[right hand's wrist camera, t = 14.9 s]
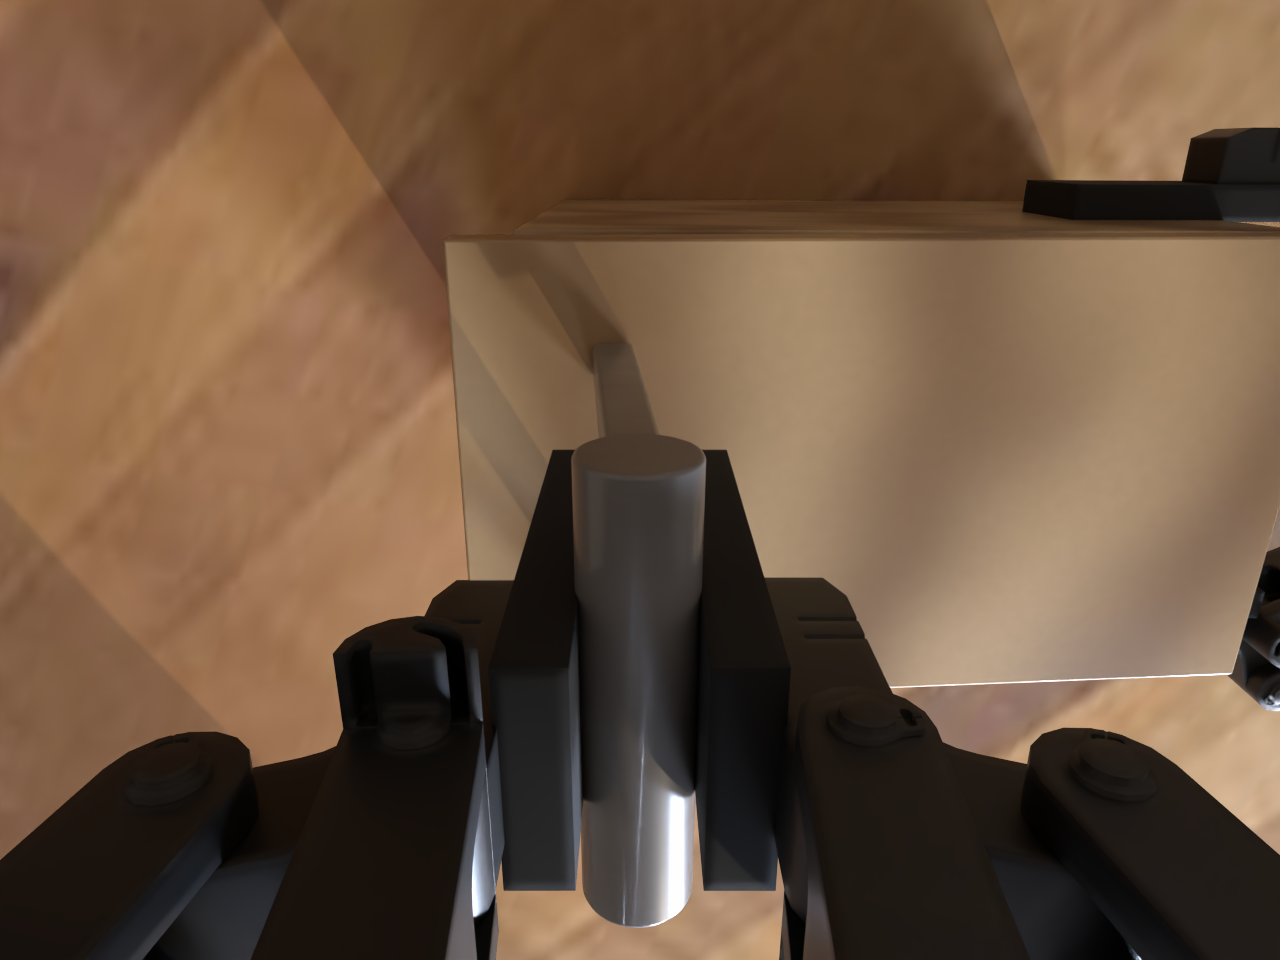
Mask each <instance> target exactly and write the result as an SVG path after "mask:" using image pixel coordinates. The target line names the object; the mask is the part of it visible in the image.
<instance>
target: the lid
mask: <svg viewBox="0 0 1280 960" xmlns="http://www.w3.org/2000/svg"><path fill="white" fill-rule="evenodd" d="M443 246H444V259H445V272H446V286H447V299H448V313H449V326H450V340H451V353H452V367H453V380H454V394H455V407H456V421H457V434H458V448H459V461H460V475H461V488H462V502H463V515H464V528H465V542H466V555H467V569H468V580H514V579H515V575H516V572H517V569H518V565H519V562H520V558H521V555H522V552H523V548H524V545H525V541H526V538H527V535H528V531H529V528H530V525H531V521H532V518H533V514H534V511H535V508H536V504H537V501H538V497H539V494H540V491H541V487H542V484H543V481H544V477H545V474H546V470H547V467H548V464H549V460H550V457H551V453H552V450H575V451H574V453H573V455H572V458H571V467H572V506H573V544H574V582H575V593H576V595H577V597H578V620H579V656H580V692H581V728H582V764H583V809H582V821H581V851H582V885H583V891H584V895H585V897H586V899H587V901H588V903H589V904H590V906H591V907H592V908H593V910H594V911H595V912H596V913H597V914H599V915H600V916H601V917H603V918H604V919H606V920H608V921H610V922H612V923H614V924H617V925H620V926H625V927H632V928H643V927H650V926H655V925H658V924H661V923H663V922H665V921H667V920H669V919H671V918H672V917H674V916H675V915H676V914H678V913H679V912H680V911H681V909H682V908H683V907H684V906H685V904H686V903H687V901H688V899H689V897H690V895H691V891H692V884H693V855H694V823H695V777H696V743H697V708H698V674H699V639H700V604H701V592H702V573H703V542H704V511H705V480H706V457H705V454H704V452H703V451H702V450H727V452H728V456H729V459H730V463H731V466H732V469H733V473H734V476H735V480H736V483H737V486H738V490H739V493H740V496H741V500H742V503H743V507H744V510H745V513H746V517H747V520H748V524H749V527H750V530H751V534H752V537H753V541H754V544H755V547H756V551H757V554H758V558H759V561H760V564H761V568H762V571H763V575H764V578H824V579H825V580H827V581H828V582H829V583H831V584H832V585H833V586H835V587H836V588H837V589H839V590H840V591H841V592H842V593H844V594H845V595H846V596H847V597H848V600H849V602H850V604H851V606H852V608H853V610H854V612H855V614H856V617H857V621H859V623H860V625H861V627H862V629H863V631H864V634H865V639H867V640H868V642H869V644H870V646H871V649H872V651H873V653H874V655H875V657H876V659H877V661H878V663H879V666H880V668H881V670H882V672H883V674H884V676H885V678H886V680H887V683H888V685H889V687H890V688H896V687H922V686H947V685H972V684H997V683H1022V682H1048V681H1073V680H1098V679H1123V678H1148V677H1173V676H1199V675H1224V674H1232V672H1233V669H1234V665H1235V662H1236V658H1237V655H1238V651H1239V648H1240V644H1241V640H1242V637H1243V633H1244V630H1245V626H1246V623H1247V619H1248V616H1249V612H1250V609H1251V605H1252V602H1253V598H1254V595H1255V591H1256V588H1257V584H1258V581H1259V577H1260V574H1261V570H1262V567H1263V563H1264V560H1265V556H1266V553H1267V549H1268V546H1269V542H1270V539H1271V535H1272V532H1273V528H1274V525H1275V521H1276V517H1277V514H1278V510H1279V507H1280V232H1258V233H935V234H611V235H451V236H449V237H448V238H447V239H445V240H444V242H443Z"/></svg>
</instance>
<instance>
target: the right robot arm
mask: <svg viewBox="0 0 1280 960" xmlns="http://www.w3.org/2000/svg"><path fill="white" fill-rule="evenodd" d="M574 451H575V450H552V453H551V457H550V460H549V464H548V467H547V470H546V474H545V477H544V481H543V484H542V487H541V491H540V494H539V497H538V501H537V504H536V508H535V511H534V514H533V518H532V521H531V525H530V528H529V531H528V535H527V538H526V541H525V545H524V548H523V552H522V555H521V558H520V562H519V565H518V569H517V572H516V575H515V579H514V580H456V581H455V582H454V583H453V584H451V585H450V586H449V587H447V588H446V589H445V590H443V591H442V592H441V593H439V594H438V595H437V596H436V597H434V598H433V599H432V601H431V604H430V606H429V608H428V610H427V612H426V614H425V616H414V617H406V618H398V619H391V620H388V621H384V622H381V623H378V624H375V625H372V626H369V627H366V628H364V629H362V630H361V631H359V632H357V633H355V634H354V635H352V636H350V637H349V638H347V639H345V640H344V641H343V643H342V644H341V645H340V646H339V647H338V648H337V650H336V651H335V652H334V653H333V659H334V666H335V673H336V680H337V687H338V694H339V701H340V708H341V715H342V722H343V731H342V734H341V736H340V739H339V741H338V744H337V746H335V747H333V748H331V749H328V750H326V751H324V752H320V753H317V754H313V755H309V756H306V757H302V758H298V759H293V760H288V761H283V762H279V763H274V764H269V765H264V766H259V767H255V768H253V767H252V762H251V757H250V751H249V749H248V748H247V747H246V746H245V745H244V744H243V743H242V742H241V741H240V740H239V739H238V738H236V737H233V736H229V735H226V734H222V733H219V732H187V733H182V734H176V735H174V736H172V735H171V736H167V737H164V738H160V739H157V740H155V741H153V742H150V743H148V744H146V745H143V746H141V747H139V748H136V749H134V750H132V751H129V752H128V753H126V754H125V755H123V756H122V757H120V758H119V759H117V760H116V761H115V762H113V763H112V764H110V765H109V766H107V767H106V768H104V769H103V770H102V771H101V772H100V773H99V774H97V775H96V776H95V777H94V778H93V779H92V780H91V781H89V782H88V783H87V784H86V785H85V786H84V787H83V788H82V789H80V790H79V791H78V792H77V793H76V794H75V795H74V796H72V797H71V798H70V799H69V800H68V801H67V802H66V803H64V804H63V805H62V806H61V807H60V808H59V809H58V810H57V811H55V812H54V813H53V814H52V815H51V816H50V817H49V818H47V819H46V820H45V821H44V822H43V823H42V824H41V825H40V826H38V827H37V828H36V829H35V830H34V831H33V832H32V833H30V834H29V835H28V836H27V837H26V838H25V839H24V840H23V841H21V842H20V843H19V844H18V845H17V846H16V847H15V848H13V849H12V850H11V851H10V852H9V853H8V854H7V855H5V856H4V857H3V858H2V859H1V860H0V960H496V951H497V941H498V931H499V930H498V916H497V903H496V890H495V889H496V884H497V879H498V874H499V869H500V864H501V859H502V872H503V887H504V891H575V890H576V879H577V867H578V856H579V844H580V833H581V821H582V809H583V764H582V728H581V692H580V656H579V620H578V597H577V595H576V593H575V582H574V544H573V506H572V467H571V458H572V455H573V453H574ZM702 451H703V452H704V454H705V457H706V480H705V511H704V542H703V573H702V592H701V604H700V639H699V674H698V708H697V743H696V777H695V795H696V806H697V818H698V829H699V841H700V852H701V864H702V876H703V887H704V891H775V890H776V876H777V862H778V858H779V864H780V869H781V874H782V879H783V884H784V889H785V890H784V903H783V916H782V930H781V943H780V957H779V960H1280V855H1279V854H1278V853H1277V852H1276V851H1274V850H1273V849H1272V848H1271V847H1270V846H1269V845H1268V844H1266V843H1265V842H1264V841H1263V840H1262V839H1261V838H1260V837H1258V836H1257V835H1256V834H1255V833H1254V832H1253V831H1252V830H1250V829H1249V828H1248V827H1247V826H1246V825H1245V824H1244V823H1242V822H1241V821H1240V820H1239V819H1238V818H1237V817H1236V816H1234V815H1233V814H1232V813H1231V812H1230V811H1229V810H1228V809H1226V808H1225V807H1224V806H1223V805H1222V804H1221V803H1220V802H1218V801H1217V800H1216V799H1215V798H1214V797H1213V796H1212V795H1210V794H1209V793H1208V792H1207V791H1206V790H1205V789H1203V788H1202V787H1201V786H1200V785H1199V784H1198V783H1197V782H1195V781H1194V780H1193V779H1192V778H1191V777H1190V776H1189V775H1187V774H1186V773H1185V772H1184V771H1183V770H1182V769H1181V768H1179V767H1178V766H1177V765H1176V764H1174V763H1173V762H1172V761H1170V760H1169V759H1167V758H1166V757H1164V756H1163V755H1161V754H1160V753H1158V752H1157V751H1155V750H1154V749H1152V748H1151V747H1148V746H1146V745H1144V744H1141V743H1139V742H1137V741H1134V740H1132V739H1130V738H1127V737H1125V736H1123V735H1120V734H1116V733H1113V732H1109V731H1108V732H1106V731H1104V730H1097V729H1092V728H1061V729H1058V730H1054V731H1051V732H1047V733H1044V734H1042V735H1041V736H1040V737H1039V738H1038V739H1037V740H1036V741H1035V742H1034V743H1033V744H1032V745H1031V747H1030V752H1029V757H1028V763H1027V764H1024V763H1019V762H1014V761H1009V760H1004V759H999V758H995V757H990V756H985V755H980V754H976V753H972V752H969V751H965V750H962V749H958V748H955V747H953V746H950V745H948V744H946V743H943V742H942V740H941V737H940V735H939V732H938V730H937V728H936V726H935V725H934V724H933V722H932V721H931V719H930V718H929V717H928V715H927V714H926V713H925V712H924V711H923V710H921V709H920V708H919V707H917V706H916V705H914V704H913V703H911V702H910V701H908V700H907V699H905V698H902V697H900V696H897V695H894V694H893V693H892V691H891V689H890V687H889V685H888V683H887V680H886V678H885V676H884V674H883V672H882V670H881V668H880V666H879V663H878V661H877V659H876V657H875V655H874V653H873V651H872V649H871V646H870V644H869V642H868V640H867V639H865V634H864V631H863V629H862V627H861V625H860V623H859V621H857V617H856V614H855V612H854V610H853V608H852V606H851V604H850V602H849V600H848V597H847V596H846V595H845V594H844V593H842V592H841V591H840V590H839V589H837V588H836V587H835V586H833V585H832V584H831V583H829V582H828V581H827V580H825V579H824V578H764V575H763V571H762V568H761V564H760V561H759V558H758V554H757V551H756V547H755V544H754V541H753V537H752V534H751V530H750V527H749V524H748V520H747V517H746V513H745V510H744V507H743V503H742V500H741V496H740V493H739V490H738V486H737V483H736V480H735V476H734V473H733V469H732V466H731V463H730V459H729V456H728V452H727V450H702Z"/></svg>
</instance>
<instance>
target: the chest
mask: <svg viewBox="0 0 1280 960" xmlns="http://www.w3.org/2000/svg"><path fill="white" fill-rule="evenodd" d="M1023 203H1024V201H835V200H585V199H566V200H564V201H562V202H560V203H559V204H557V205H555V206H553V207H552V208H550V209H548V210H547V211H545V212H543V213H542V214H540V215H538V216H536V217H535V218H533V219H531V220H530V221H528V222H526V223H525V224H523V225H521V226H520V227H518V228H516V229H515V230H514V235H611V234H935V233H1258V232H1280V227H1271V226H1263V225H1255V224H1247V223H1239V222H1231V221H1222V220H1070V219H1064V218H1058V217H1052V216H1045V215H1039V214H1033V213H1027V212H1022V210H1023Z"/></svg>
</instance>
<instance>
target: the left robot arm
mask: <svg viewBox="0 0 1280 960" xmlns="http://www.w3.org/2000/svg"><path fill="white" fill-rule="evenodd" d="M1022 212H1027V213H1033V214H1039V215H1045V216H1052V217H1058V218H1064V219H1070V220H1222V221H1231V222H1280V128H1235V129H1214V130H1211V131H1209V132H1206V133H1204V134H1201V135H1199V136H1196V137H1193V138H1191V141H1190V146H1189V150H1188V155H1187V160H1186V165H1185V169H1184V174H1183V179H1182V181H1076V180H1027V183H1026V190H1025V197H1024V203H1023V210H1022ZM1227 675H1228V676H1229V677H1230V678H1231V679H1232V680H1233V681H1234V682H1235V683H1236V684H1238V685H1239V686H1240V687H1241V688H1242V689H1243V690H1244V691H1245V692H1246V693H1247V694H1249V695H1250V696H1251V697H1252V698H1253V699H1254V700H1256V701H1257V702H1258V703H1259V704H1260V705H1261V706H1262V707H1263V708H1265V709H1268V710H1270V711H1280V547H1278V548H1276V549H1273V550H1271V551H1268V552H1267V553H1266V556H1265V560H1264V563H1263V567H1262V570H1261V574H1260V577H1259V581H1258V584H1257V588H1256V591H1255V595H1254V598H1253V602H1252V605H1251V609H1250V612H1249V616H1248V619H1247V623H1246V626H1245V630H1244V633H1243V637H1242V640H1241V644H1240V648H1239V651H1238V655H1237V658H1236V662H1235V665H1234V669H1233V672H1232V674H1227Z"/></svg>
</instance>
